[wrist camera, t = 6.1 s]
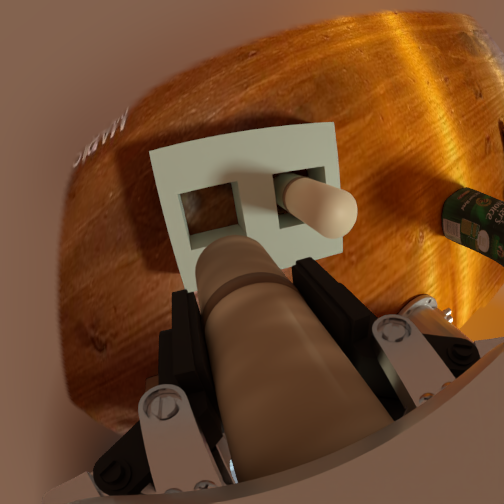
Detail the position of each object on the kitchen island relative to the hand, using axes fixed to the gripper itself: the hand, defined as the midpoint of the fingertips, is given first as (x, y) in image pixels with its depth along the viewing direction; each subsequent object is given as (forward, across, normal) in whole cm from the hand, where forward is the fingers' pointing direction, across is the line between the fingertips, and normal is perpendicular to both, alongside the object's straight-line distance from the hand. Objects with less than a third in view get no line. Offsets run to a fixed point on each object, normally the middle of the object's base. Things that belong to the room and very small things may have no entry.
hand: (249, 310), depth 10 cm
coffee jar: (+18, -38, +8) cm, 43 cm away
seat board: (+18, -4, 0) cm, 18 cm away
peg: (+3, 0, 0) cm, 3 cm away
